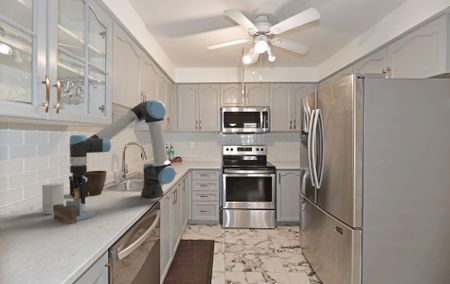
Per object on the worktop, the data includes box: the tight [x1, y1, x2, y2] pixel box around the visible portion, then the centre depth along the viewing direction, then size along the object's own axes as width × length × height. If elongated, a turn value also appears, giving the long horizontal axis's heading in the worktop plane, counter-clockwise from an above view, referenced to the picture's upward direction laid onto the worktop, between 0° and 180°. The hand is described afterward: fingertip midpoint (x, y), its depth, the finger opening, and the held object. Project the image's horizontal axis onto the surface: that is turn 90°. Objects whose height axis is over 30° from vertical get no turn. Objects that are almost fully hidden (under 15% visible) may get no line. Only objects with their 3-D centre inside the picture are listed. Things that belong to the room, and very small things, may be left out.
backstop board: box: [53, 204, 78, 225], centre depth 126 cm, size 2×16×7 cm, turn 61°
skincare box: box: [41, 182, 65, 215], centre depth 140 cm, size 8×7×16 cm
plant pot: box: [85, 170, 108, 196], centre depth 182 cm, size 15×15×16 cm
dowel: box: [74, 188, 80, 202], centre depth 133 cm, size 4×4×11 cm
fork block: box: [65, 200, 95, 222], centre depth 132 cm, size 10×12×8 cm
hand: (79, 209), depth 133 cm, fingers closed on dowel, 4 cm apart
